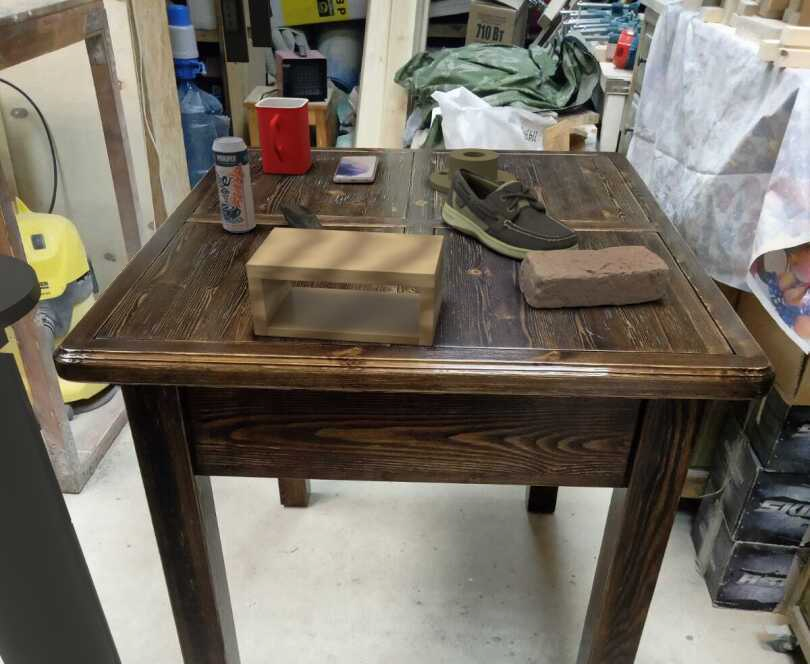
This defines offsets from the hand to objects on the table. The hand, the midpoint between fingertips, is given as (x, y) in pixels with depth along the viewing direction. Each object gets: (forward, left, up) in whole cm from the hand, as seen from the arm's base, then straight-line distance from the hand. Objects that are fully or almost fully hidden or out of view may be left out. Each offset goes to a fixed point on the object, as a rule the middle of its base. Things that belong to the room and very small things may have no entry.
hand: (251, 54), depth 101 cm
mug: (-4, +29, -22) cm, 36 cm away
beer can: (-3, -3, -22) cm, 22 cm away
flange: (+30, +26, -22) cm, 45 cm away
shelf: (+19, -32, -22) cm, 43 cm away
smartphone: (+9, +30, -22) cm, 38 cm away
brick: (+47, -21, -22) cm, 56 cm away
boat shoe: (+36, -3, -22) cm, 42 cm away
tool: (+10, -7, -22) cm, 25 cm away
